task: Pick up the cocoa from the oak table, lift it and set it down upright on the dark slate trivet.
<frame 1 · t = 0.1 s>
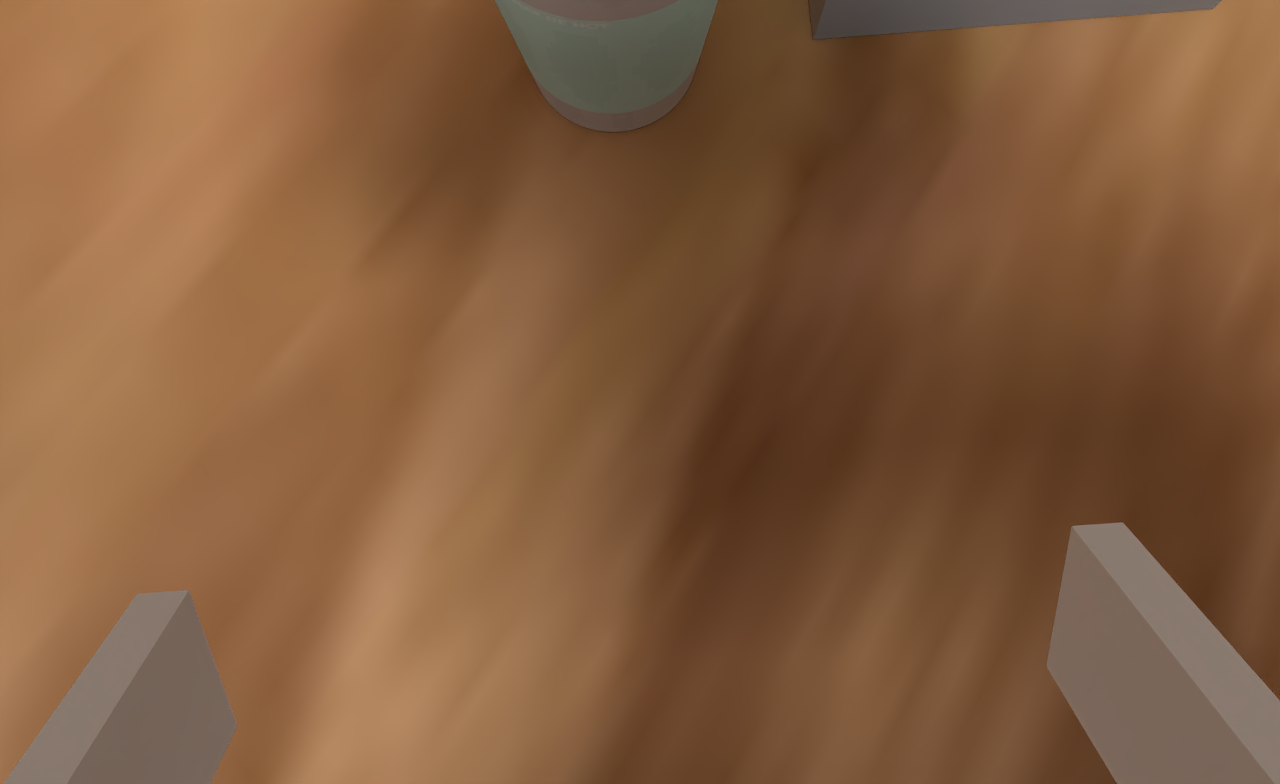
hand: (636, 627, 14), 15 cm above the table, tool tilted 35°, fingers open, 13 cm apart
coffee cup: (613, 58, 32), on the table
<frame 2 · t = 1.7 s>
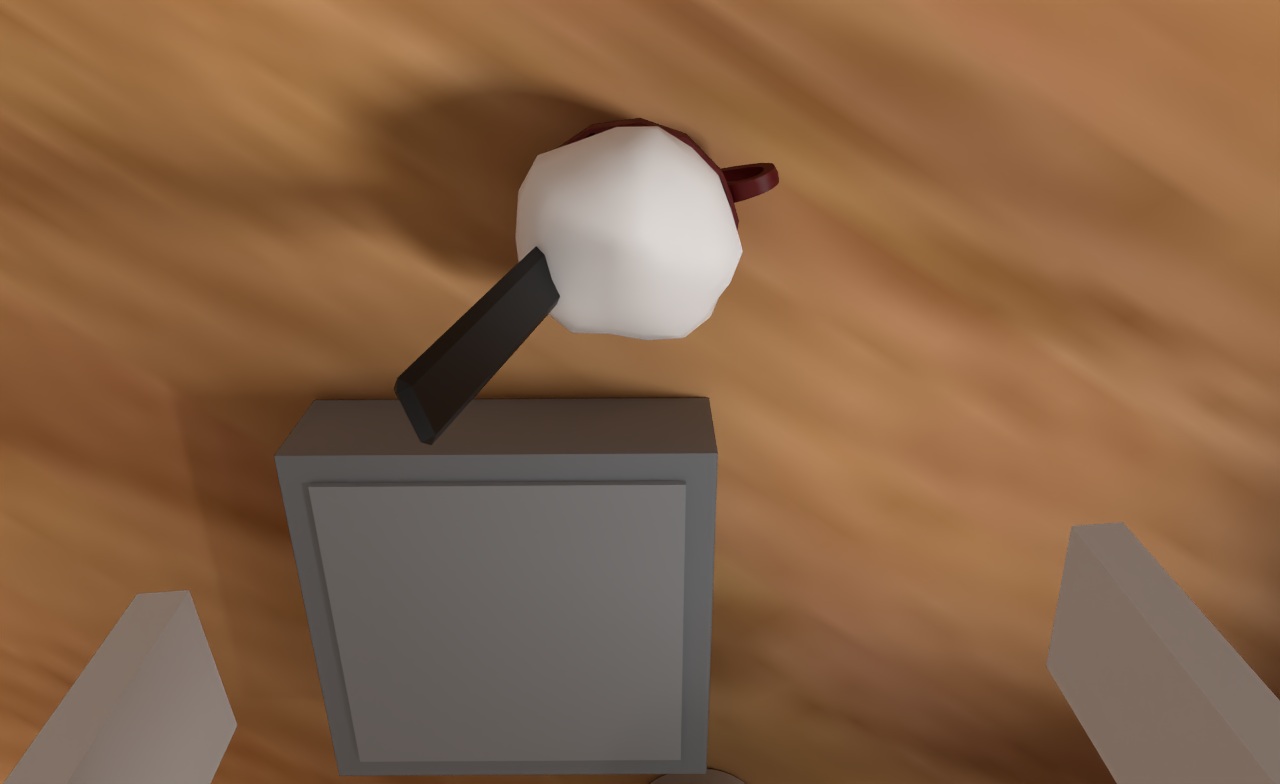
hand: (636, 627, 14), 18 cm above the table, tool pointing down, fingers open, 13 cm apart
trivet: (523, 561, 36), on the table
cocoa: (621, 200, 30), on the table
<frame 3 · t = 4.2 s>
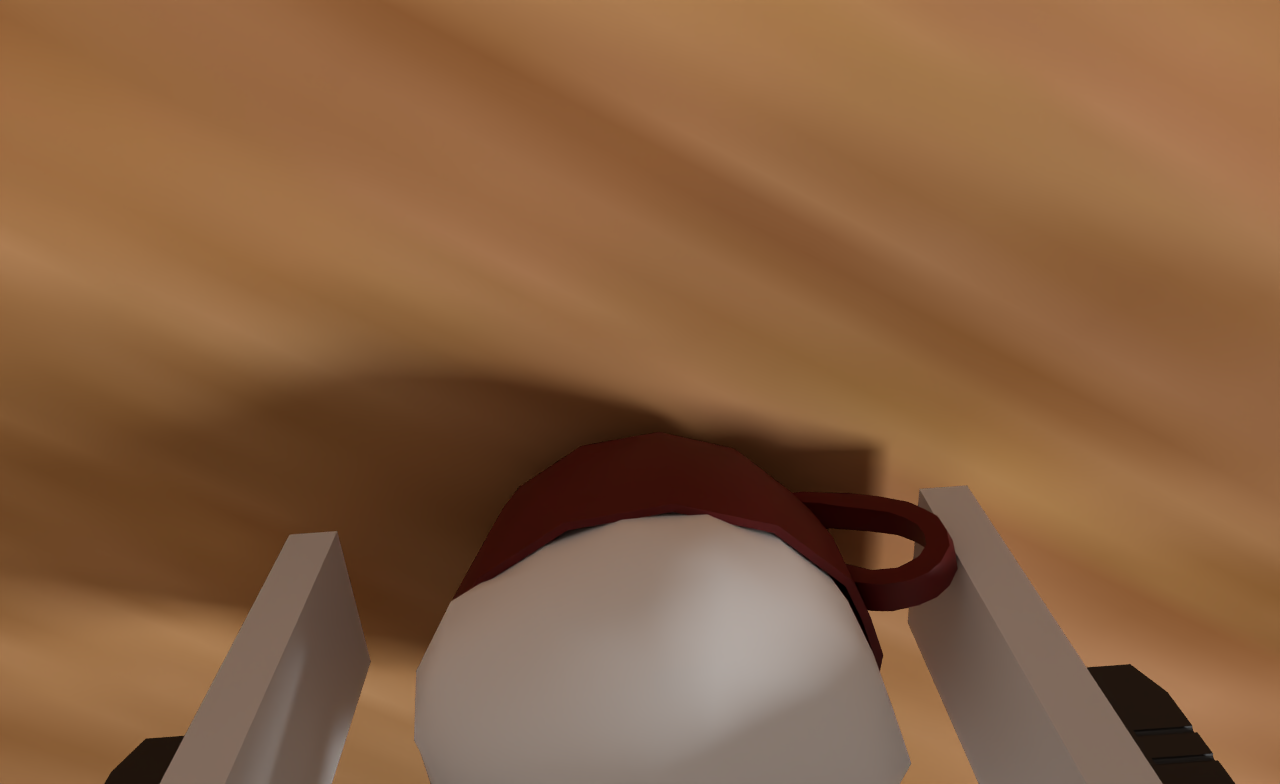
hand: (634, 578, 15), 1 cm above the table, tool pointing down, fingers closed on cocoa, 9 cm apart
cocoa: (630, 533, 16), on the table, touching gripper
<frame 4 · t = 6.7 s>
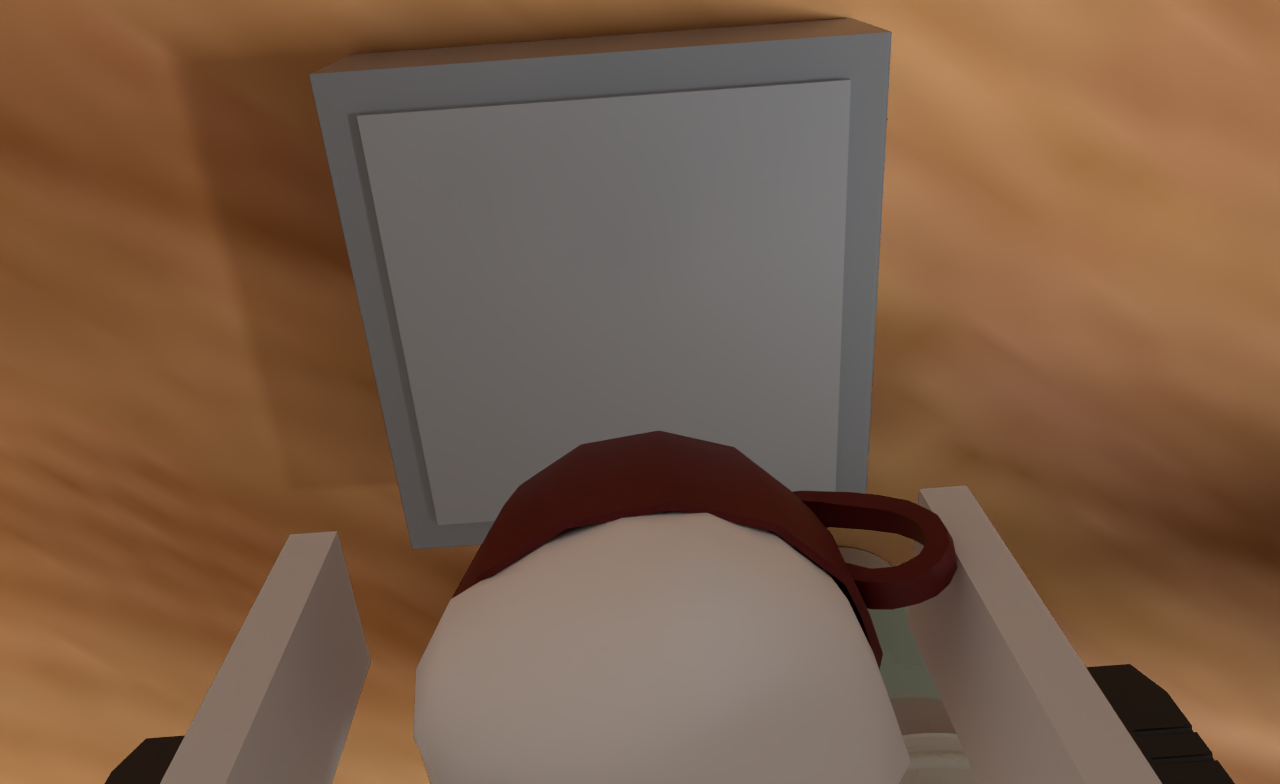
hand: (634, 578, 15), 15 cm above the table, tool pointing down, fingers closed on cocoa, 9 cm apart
trivet: (619, 274, 29), on the table
cocoa: (630, 532, 16), point 14 cm above the table, touching gripper
coffee cup: (828, 604, 35), on the table
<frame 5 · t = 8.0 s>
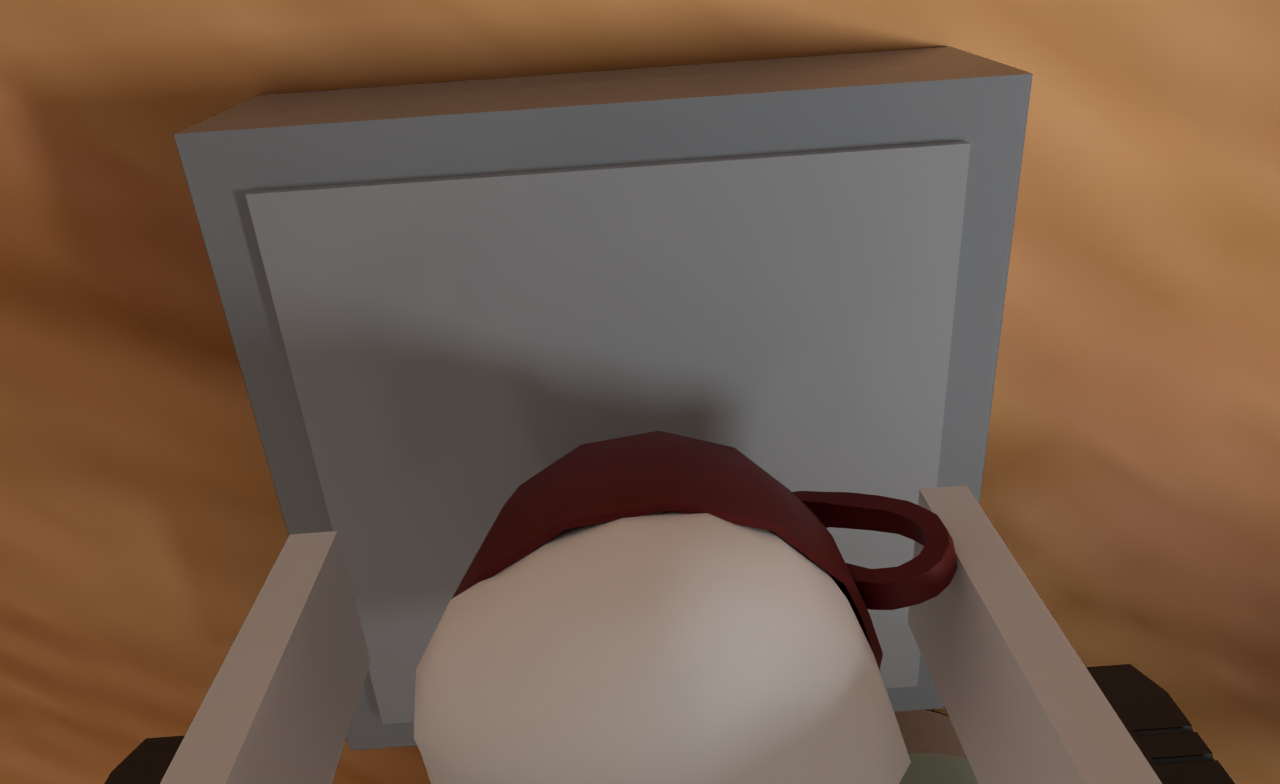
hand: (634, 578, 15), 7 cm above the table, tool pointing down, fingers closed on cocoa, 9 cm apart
trivet: (627, 381, 22), on the table
cocoa: (630, 532, 16), point 6 cm above the table, touching gripper
coffee cup: (886, 771, 28), on the table
when the fingers open (6 cm above the table, at t = 9.1 s): cocoa drops 1 cm, resting on trivet.
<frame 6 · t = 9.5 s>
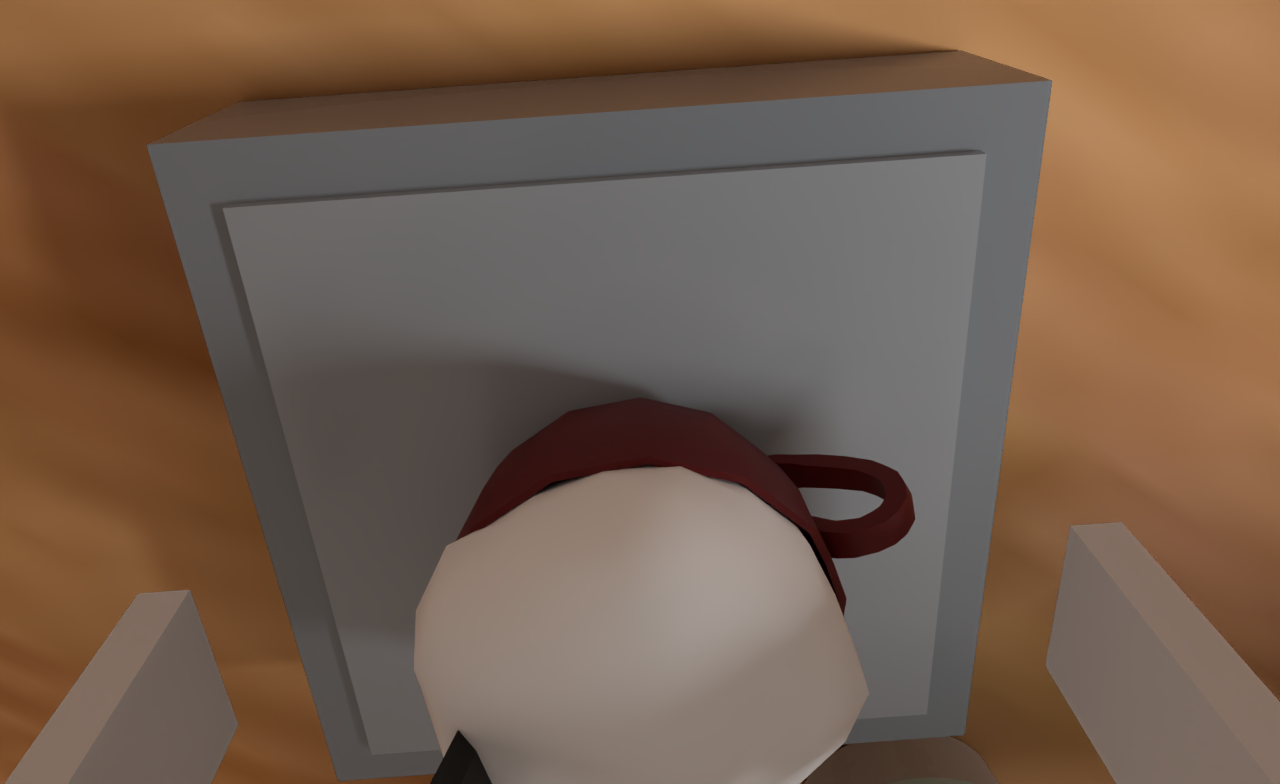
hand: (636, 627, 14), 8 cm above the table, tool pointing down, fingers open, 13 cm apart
trivet: (625, 397, 21), on the table
cocoa: (618, 497, 17), point 4 cm above the table, touching trivet
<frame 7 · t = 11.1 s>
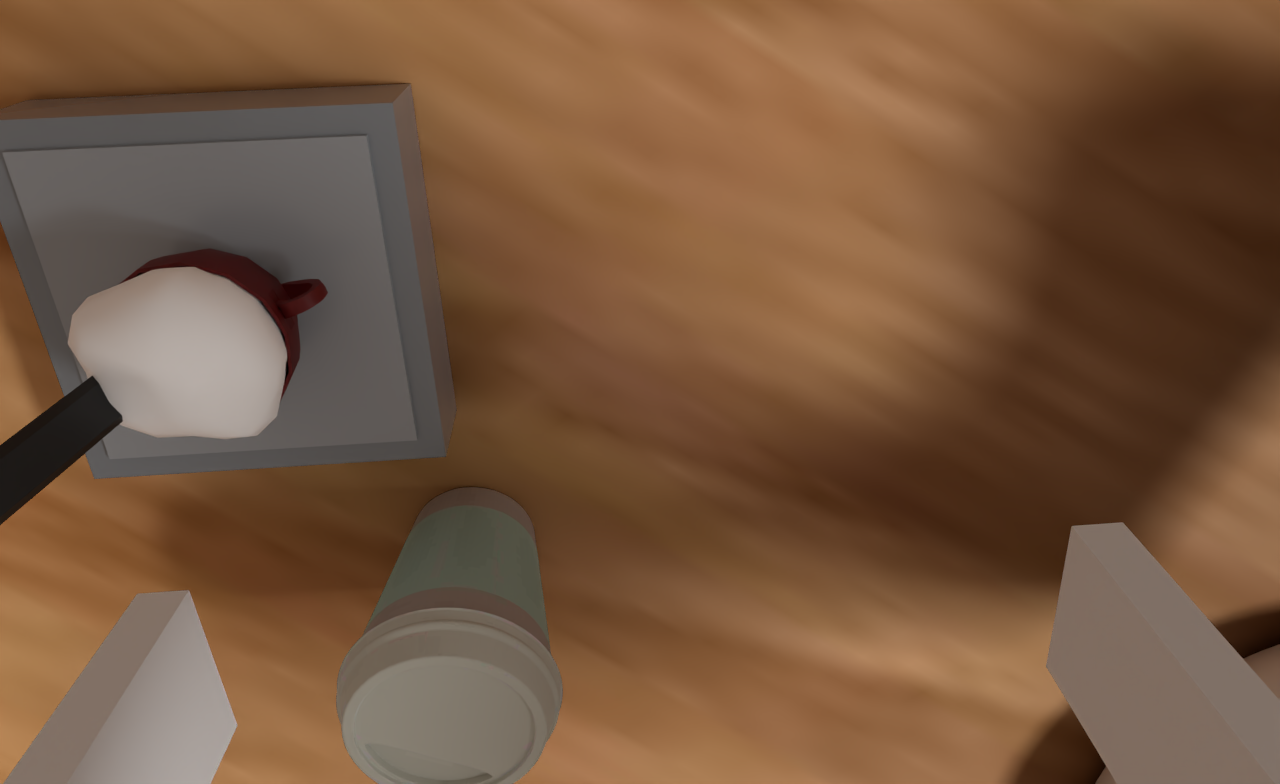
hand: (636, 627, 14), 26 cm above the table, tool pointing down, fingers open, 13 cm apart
trivet: (262, 269, 37), on the table
cocoa: (223, 308, 34), point 4 cm above the table, touching trivet
coffee cup: (475, 534, 44), on the table
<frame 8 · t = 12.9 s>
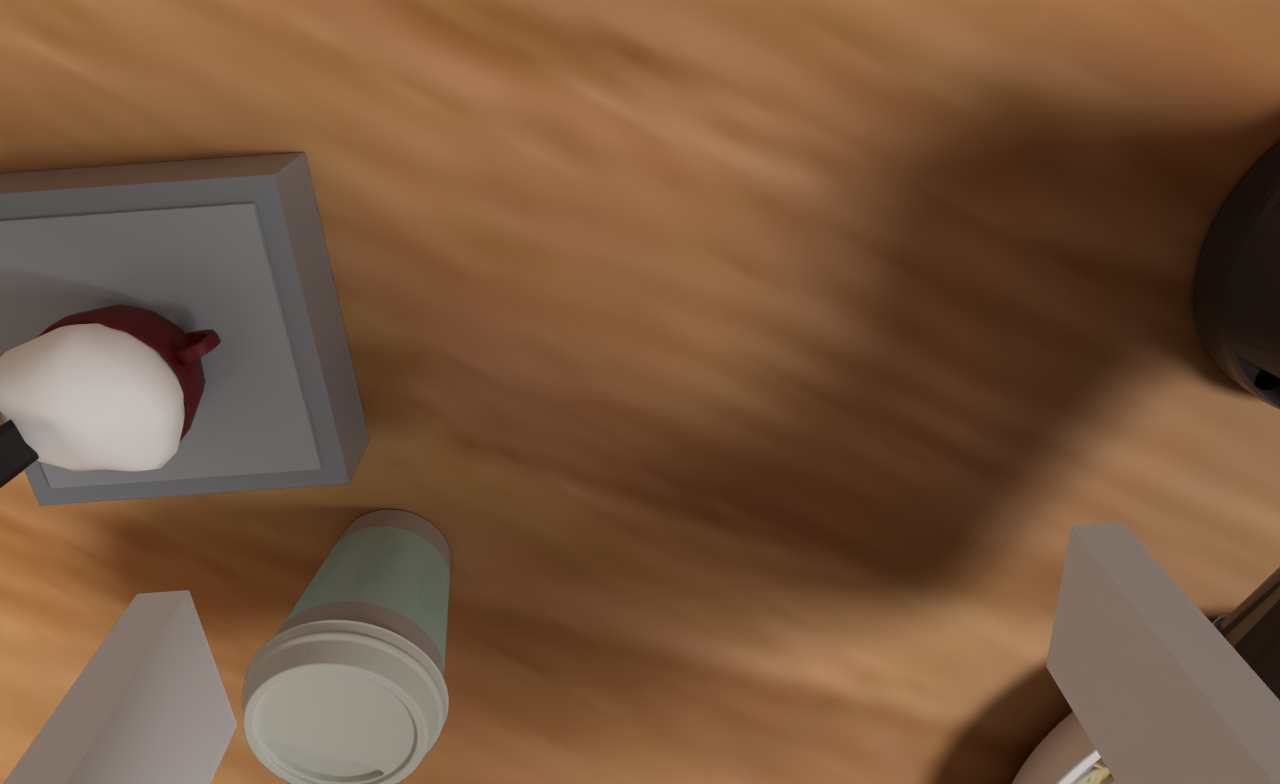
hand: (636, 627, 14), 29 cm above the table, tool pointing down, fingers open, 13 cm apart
trivet: (186, 317, 42), on the table
cocoa: (141, 354, 38), point 4 cm above the table, touching trivet
coffee cup: (396, 552, 48), on the table
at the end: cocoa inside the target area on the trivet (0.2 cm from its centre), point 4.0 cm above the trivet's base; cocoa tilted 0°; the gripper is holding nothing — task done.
